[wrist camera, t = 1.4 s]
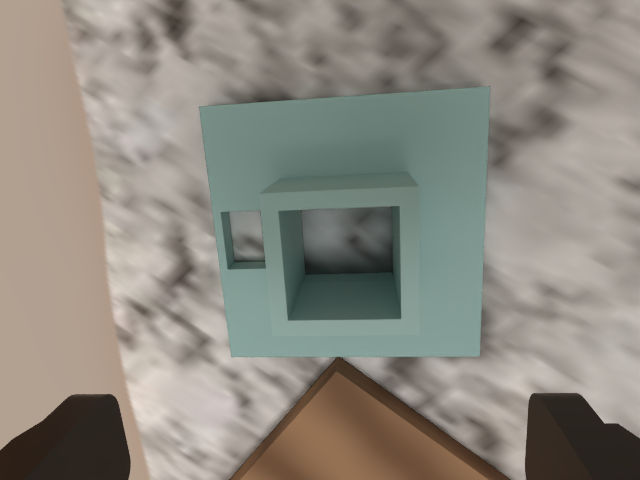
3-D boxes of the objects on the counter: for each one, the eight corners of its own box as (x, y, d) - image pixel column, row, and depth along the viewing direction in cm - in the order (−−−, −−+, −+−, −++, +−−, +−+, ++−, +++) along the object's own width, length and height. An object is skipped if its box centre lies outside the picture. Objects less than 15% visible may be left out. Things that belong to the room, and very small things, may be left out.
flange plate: (482, 87, 20) (525, 77, 15) (474, 344, 23) (505, 410, 18) (208, 107, 21) (156, 103, 16) (237, 346, 25) (202, 407, 20)
